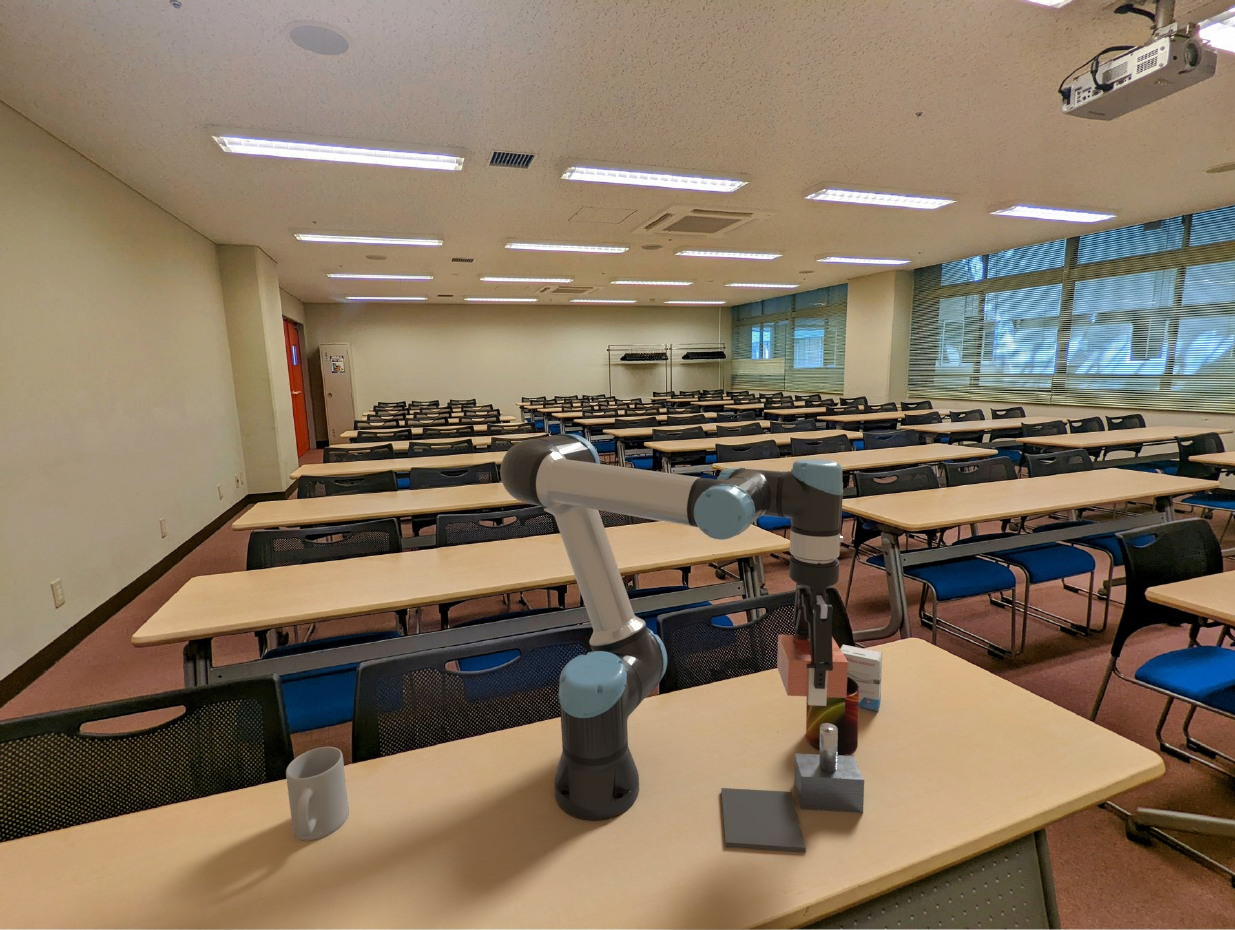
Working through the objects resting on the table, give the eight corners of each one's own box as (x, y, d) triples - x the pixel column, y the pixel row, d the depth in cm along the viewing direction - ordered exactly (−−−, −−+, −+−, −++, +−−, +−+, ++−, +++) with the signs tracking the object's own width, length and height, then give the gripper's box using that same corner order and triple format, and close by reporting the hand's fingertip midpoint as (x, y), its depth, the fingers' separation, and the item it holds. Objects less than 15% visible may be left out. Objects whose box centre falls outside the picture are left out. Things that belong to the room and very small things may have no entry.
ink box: (881, 701, 126) (883, 651, 124) (878, 712, 121) (879, 661, 120) (840, 691, 130) (842, 643, 128) (836, 701, 126) (837, 652, 124)
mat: (725, 847, 88) (725, 842, 87) (721, 792, 99) (721, 787, 99) (805, 852, 86) (805, 847, 86) (791, 796, 98) (791, 791, 98)
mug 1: (302, 808, 99) (295, 750, 98) (354, 799, 101) (348, 742, 99) (277, 863, 87) (268, 799, 86) (336, 852, 89) (329, 789, 88)
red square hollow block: (787, 695, 89) (788, 660, 88) (777, 667, 98) (778, 634, 97) (846, 697, 88) (848, 662, 88) (830, 668, 97) (831, 636, 96)
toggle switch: (800, 809, 95) (801, 737, 93) (794, 784, 101) (794, 716, 99) (863, 812, 93) (865, 740, 92) (852, 787, 99) (854, 718, 98)
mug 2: (832, 712, 122) (833, 660, 120) (867, 752, 108) (869, 694, 107) (789, 716, 121) (789, 664, 119) (819, 758, 107) (820, 699, 106)
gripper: (861, 580, 79) (853, 728, 82) (820, 538, 100) (816, 656, 104) (806, 579, 80) (800, 726, 83) (777, 537, 101) (774, 655, 105)
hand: (809, 687), depth 93 cm, fingers closed on red square hollow block, 9 cm apart
